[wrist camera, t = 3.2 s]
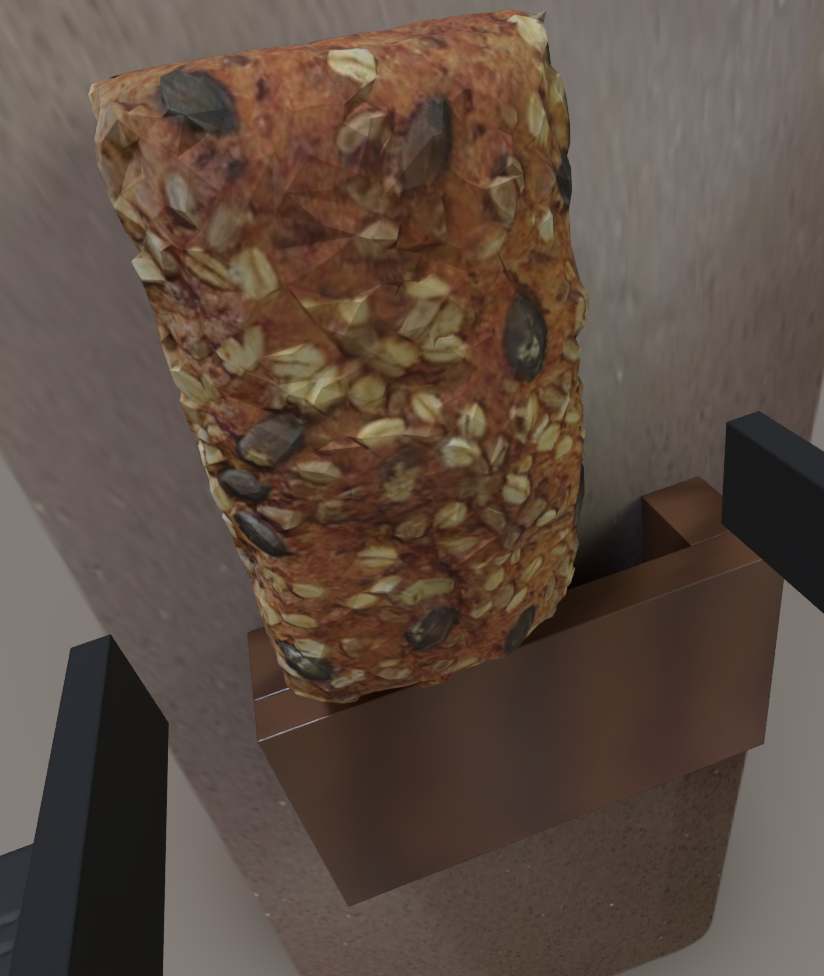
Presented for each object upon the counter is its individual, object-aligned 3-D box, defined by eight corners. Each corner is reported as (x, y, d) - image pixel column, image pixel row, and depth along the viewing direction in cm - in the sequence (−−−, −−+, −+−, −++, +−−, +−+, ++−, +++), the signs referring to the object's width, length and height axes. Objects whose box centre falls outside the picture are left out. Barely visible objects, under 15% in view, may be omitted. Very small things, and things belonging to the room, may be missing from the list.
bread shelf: (699, 475, 33) (788, 549, 28) (694, 659, 40) (764, 744, 35) (246, 632, 31) (256, 742, 26) (327, 797, 38) (348, 907, 33)
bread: (107, 67, 19) (45, 78, 11) (473, 12, 21) (653, -15, 13) (267, 577, 30) (296, 779, 21) (505, 515, 31) (616, 680, 23)
